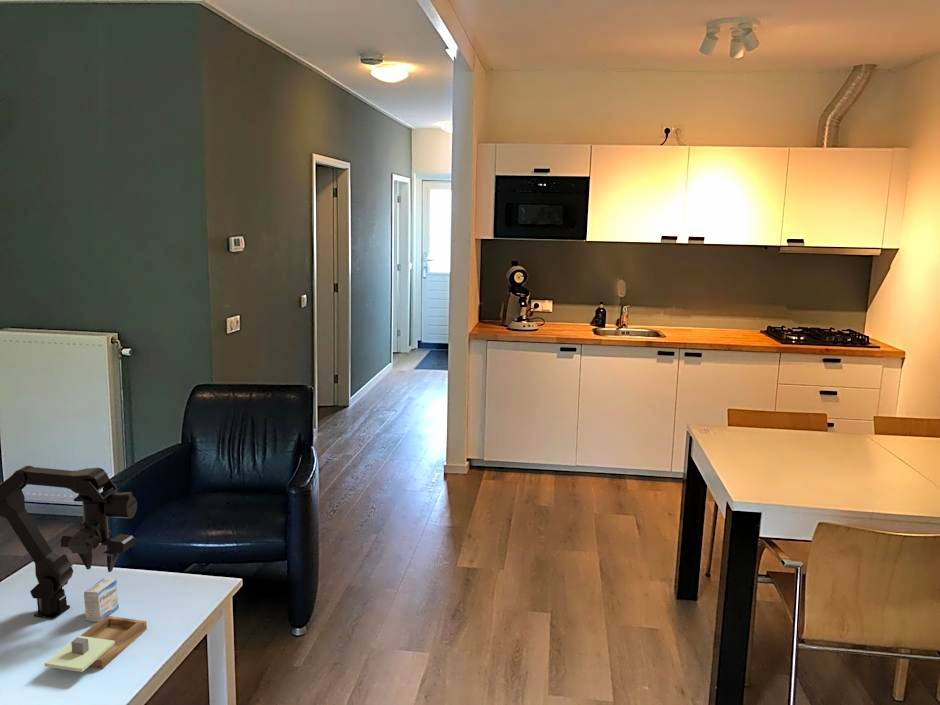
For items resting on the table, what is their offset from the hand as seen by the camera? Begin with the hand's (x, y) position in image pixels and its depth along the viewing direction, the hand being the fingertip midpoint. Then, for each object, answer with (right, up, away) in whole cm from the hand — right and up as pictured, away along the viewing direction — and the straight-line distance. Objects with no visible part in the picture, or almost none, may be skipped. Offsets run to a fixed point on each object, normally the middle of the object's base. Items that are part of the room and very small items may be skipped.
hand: (99, 570), depth 204 cm
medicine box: (0, -13, +3) cm, 13 cm away
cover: (+6, -15, -21) cm, 26 cm away
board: (+7, -16, -12) cm, 21 cm away
